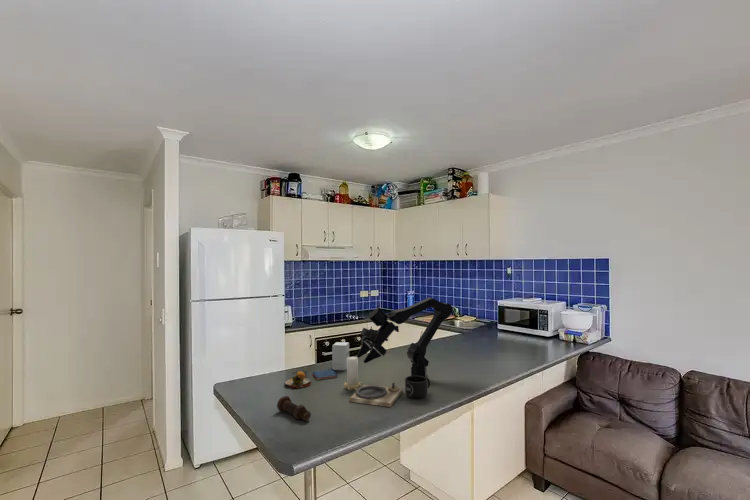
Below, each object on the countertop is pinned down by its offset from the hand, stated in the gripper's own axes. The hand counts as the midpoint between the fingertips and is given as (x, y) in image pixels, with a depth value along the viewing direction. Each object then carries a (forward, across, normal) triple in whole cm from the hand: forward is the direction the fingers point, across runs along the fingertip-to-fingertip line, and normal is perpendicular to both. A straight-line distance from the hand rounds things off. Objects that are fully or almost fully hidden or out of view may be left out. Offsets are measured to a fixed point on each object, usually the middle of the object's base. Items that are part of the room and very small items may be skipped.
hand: (360, 359), depth 161 cm
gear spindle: (+11, 0, +5) cm, 12 cm away
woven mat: (+17, -20, 0) cm, 26 cm away
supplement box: (+9, -29, +7) cm, 31 cm away
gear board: (+7, +15, +9) cm, 19 cm away
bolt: (+31, +20, -14) cm, 40 cm away
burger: (+27, -13, -10) cm, 31 cm away
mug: (-5, +20, +21) cm, 30 cm away
